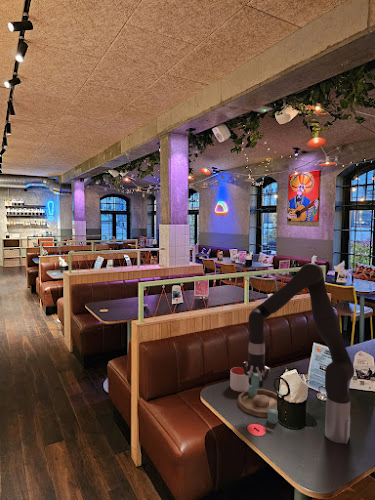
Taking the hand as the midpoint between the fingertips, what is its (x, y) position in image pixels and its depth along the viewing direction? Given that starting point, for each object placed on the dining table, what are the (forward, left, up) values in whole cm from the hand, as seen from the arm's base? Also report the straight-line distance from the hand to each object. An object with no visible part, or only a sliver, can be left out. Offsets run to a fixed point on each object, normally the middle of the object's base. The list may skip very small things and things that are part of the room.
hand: (255, 385), depth 164 cm
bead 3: (-10, +4, -13) cm, 17 cm away
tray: (0, -7, -13) cm, 15 cm away
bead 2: (+6, -11, -12) cm, 17 cm away
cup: (+16, -16, -13) cm, 26 cm away
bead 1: (0, 0, 0) cm, 0 cm away
